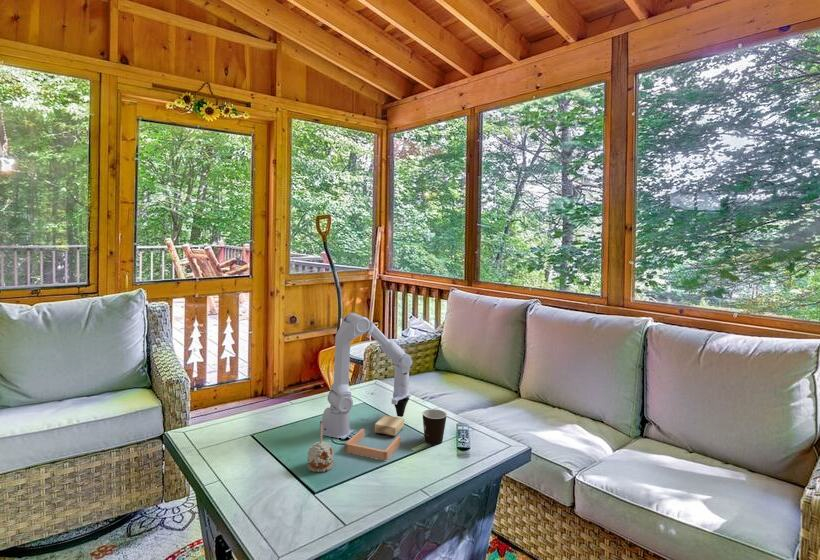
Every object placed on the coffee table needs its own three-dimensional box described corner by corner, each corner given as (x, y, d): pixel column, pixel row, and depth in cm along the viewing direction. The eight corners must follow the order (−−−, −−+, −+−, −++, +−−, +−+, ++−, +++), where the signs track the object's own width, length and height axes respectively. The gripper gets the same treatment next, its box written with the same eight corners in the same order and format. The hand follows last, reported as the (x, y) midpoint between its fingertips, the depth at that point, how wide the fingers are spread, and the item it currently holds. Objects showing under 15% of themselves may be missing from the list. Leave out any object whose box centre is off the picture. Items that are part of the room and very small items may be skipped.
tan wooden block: (374, 434, 168) (374, 424, 167) (384, 425, 176) (384, 415, 176) (394, 438, 165) (395, 427, 164) (403, 428, 173) (404, 418, 173)
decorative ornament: (321, 476, 138) (322, 428, 137) (302, 468, 142) (303, 421, 141) (338, 465, 145) (339, 419, 143) (319, 458, 149) (320, 413, 147)
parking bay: (344, 452, 153) (344, 443, 153) (361, 436, 165) (361, 428, 165) (386, 461, 148) (386, 452, 148) (400, 444, 160) (400, 436, 160)
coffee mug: (443, 447, 159) (445, 419, 158) (419, 444, 161) (420, 417, 160) (447, 433, 171) (449, 407, 170) (425, 430, 172) (426, 405, 171)
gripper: (404, 389, 171) (403, 424, 172) (417, 378, 185) (415, 411, 186) (386, 386, 173) (385, 421, 175) (400, 376, 187) (399, 408, 188)
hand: (400, 416), depth 180 cm, fingers closed
